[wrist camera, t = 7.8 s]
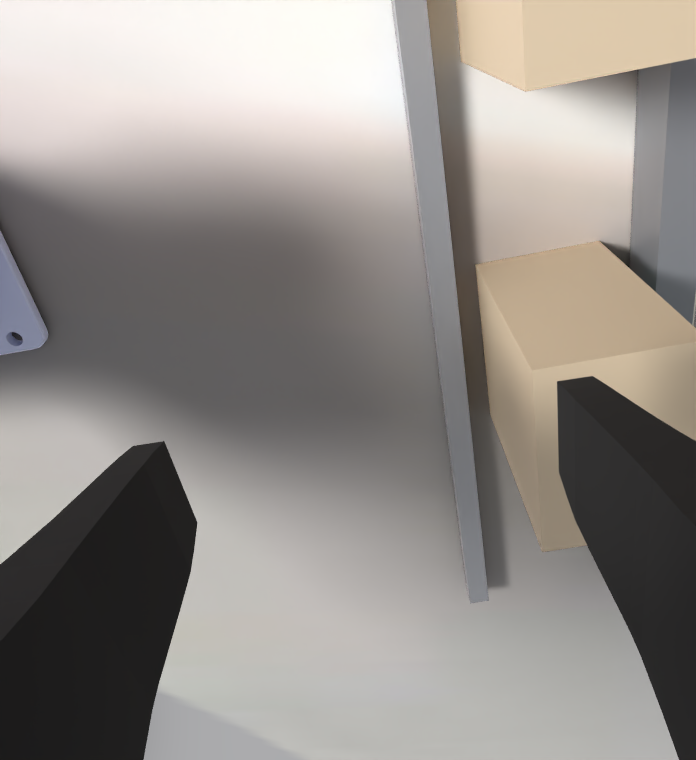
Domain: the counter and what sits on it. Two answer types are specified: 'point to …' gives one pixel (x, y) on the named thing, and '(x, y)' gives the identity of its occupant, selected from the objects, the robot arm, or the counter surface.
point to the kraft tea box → (575, 361)
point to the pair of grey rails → (647, 247)
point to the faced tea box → (572, 38)
